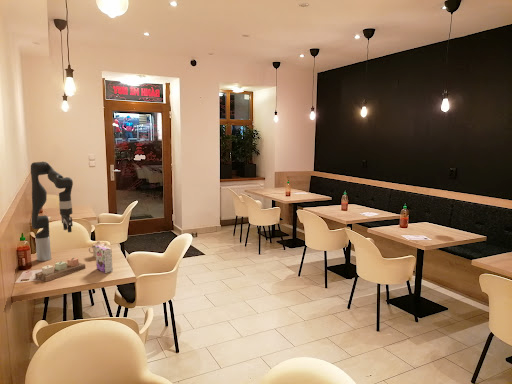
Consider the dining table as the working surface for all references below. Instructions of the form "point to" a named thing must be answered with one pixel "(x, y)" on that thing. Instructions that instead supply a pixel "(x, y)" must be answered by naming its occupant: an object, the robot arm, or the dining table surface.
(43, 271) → the key one
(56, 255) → the dining table surface
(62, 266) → the key two
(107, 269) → the candy box
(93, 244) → the teacup with lid
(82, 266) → the key block
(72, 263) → the key three
